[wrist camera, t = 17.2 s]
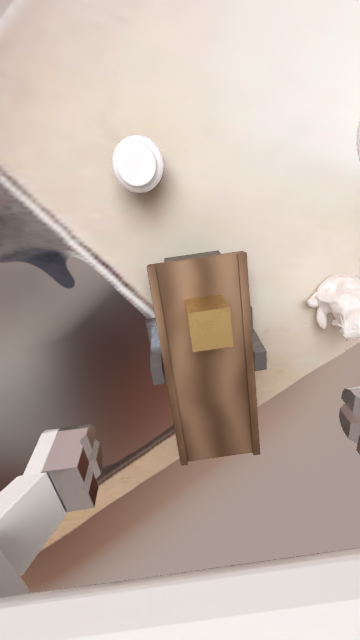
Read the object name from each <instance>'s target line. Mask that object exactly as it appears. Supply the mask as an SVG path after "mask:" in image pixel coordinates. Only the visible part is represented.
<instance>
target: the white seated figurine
mask: <svg viewBox="0 0 360 640" xmlns="http://www.w3.org/2000/svg"><path fill="white" fill-rule="evenodd" d="M307 305H308V306H309V307H311V308H315V307H318V306H319V307H318V309H317V315H316V320H317V322H318V324H319V326H320V327H321V328H322V329H325V328H326V326H327V316H326V315H327V314H328V313H331V312H332V313H333V316H334V317H335V318H336V319H335V320H333V321H332V325H333V326H338V327H341V329H340V333H341V334H342V335H343V337H345V338H347V340H348V339H352V340H358V338H360V278H359V277H357V276H354V275H351V274H347V273H342V274H338V275H331V276H329V277H327V278H326V279H325V280H324V281H323V282H322V283H321V284H320V285H319V286H318V288H317V291H316V292H315V293H314V294H313V295H312V296H311V298H310V299H308V300H307ZM347 340H346V341H347Z"/></svg>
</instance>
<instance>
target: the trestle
mask: <svg viewBox="0 0 360 640" xmlns="http://www.w3.org/2000/svg"><path fill="white" fill-rule="evenodd" d="M219 254H220V253H219V251H212V252H205V253H198V254H191V255H185V256H178V257H171V258H164V259H165V262H171V261H178V260H184V259H191V258H198V257H205V256H212V255H219ZM250 312H251V327H252V341H253V356H254V370H255V371H257V370H264V369H266V350H265V348H264V346H263V345H262V343H261V341H260V339H259V338H258V336H257V334H256V333H255V331H254V329H253V322H252V307H251V305H250ZM146 327H147V332H148V337H149V342H150V346H151V357H150V370H151V375H152V380H153V385H159V384H164V383H165V370H164V364H163V358H162V352H161V347H160V341H159V335H158V329H157V323H156V318H154V319H147V320H146Z"/></svg>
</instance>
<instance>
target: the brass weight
mask: <svg viewBox="0 0 360 640" xmlns="http://www.w3.org/2000/svg"><path fill="white" fill-rule="evenodd" d="M185 307H186V314H187V321H188V328H189V335H190V340H191V345H192V351H193V352H198V351H205V350H212V349H219V348H226V347H233V336H232V325H231V314H230V307H229V305H228V304H227V302H226V301H225V300H224V298H223V297H222V295H221V294H219V295H212V296H205V297H198V298H191V299H185Z"/></svg>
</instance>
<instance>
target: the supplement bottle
mask: <svg viewBox="0 0 360 640" xmlns="http://www.w3.org/2000/svg"><path fill="white" fill-rule="evenodd" d="M112 168H113V172H114V175H115V177H116V179H117V180H118V182H119V183H120V184H121V185H122V186H123V187H124V188H125V189H127V190H129V191H131V192H135V193H144V192H148V191H150V190H152V189H153V188H154V187H156V186H157V184H158V183H159V182H160V180H161V178H162V175H163V171H164V160H163V156H162V153H161V151H160V149H159V148H158V146H157V145H156V144H155V143H154V142H153V141H152V140H150V139H149V138H147V137H144V136H141V135H132V136H128V137H126V138H124V139H123V140H121V141H120V142H119V144H118V145H117V146H116V148H115V150H114V153H113V156H112Z"/></svg>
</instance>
